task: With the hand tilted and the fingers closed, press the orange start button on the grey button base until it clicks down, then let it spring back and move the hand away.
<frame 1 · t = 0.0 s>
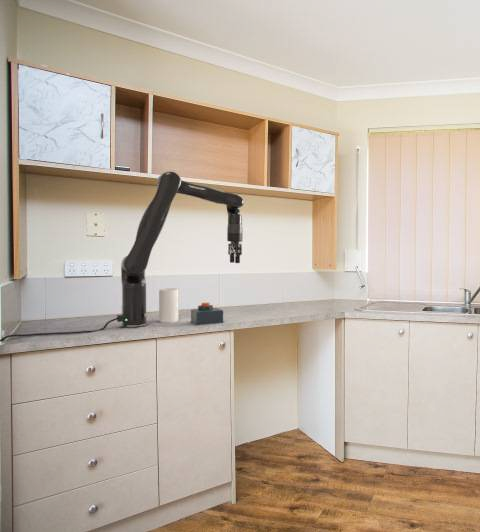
hand: (234, 262, 210), 29 cm above the countertop, tool pointing down, fingers open, 8 cm apart
cup: (168, 321, 195), on the countertop
grey button base: (207, 322, 194), on the countertop
start button: (205, 304, 195), point 8 cm above the countertop, slide at 0.1 cm
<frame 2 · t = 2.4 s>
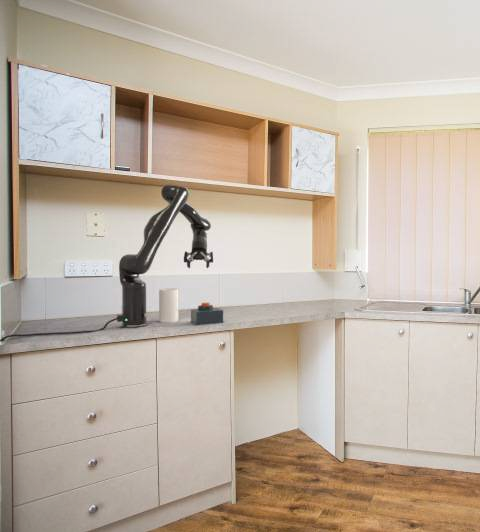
hand: (198, 267, 209), 27 cm above the countertop, tool tilted 45°, fingers open, 8 cm apart
nothing on the countertop moved.
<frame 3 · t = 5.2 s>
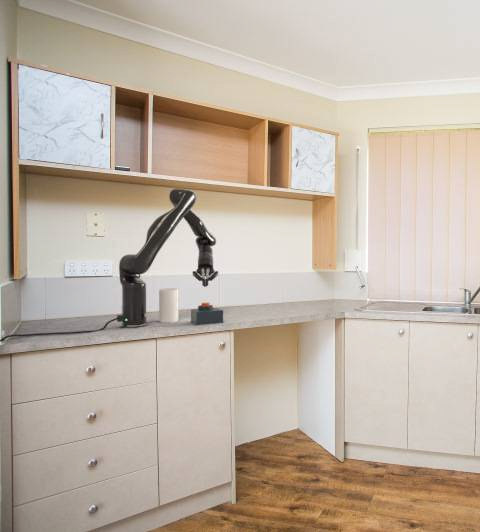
hand: (205, 285, 205), 17 cm above the countertop, tool tilted 45°, fingers closed
nothing on the countertop moved.
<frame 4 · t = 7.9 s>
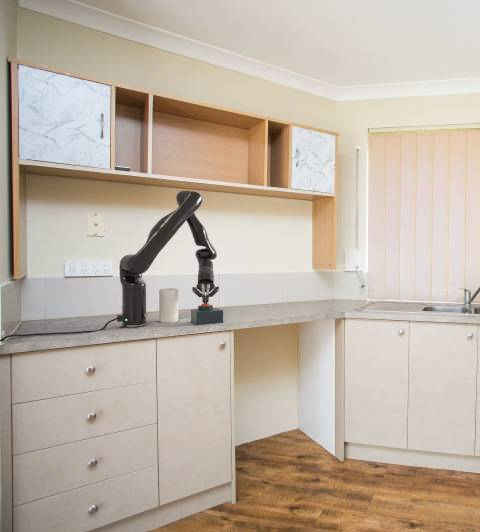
hand: (205, 302, 195), 10 cm above the countertop, tool tilted 45°, fingers closed
start button: (205, 305, 195), point 8 cm above the countertop, slide at -0.2 cm, touching gripper
everything else where it was.
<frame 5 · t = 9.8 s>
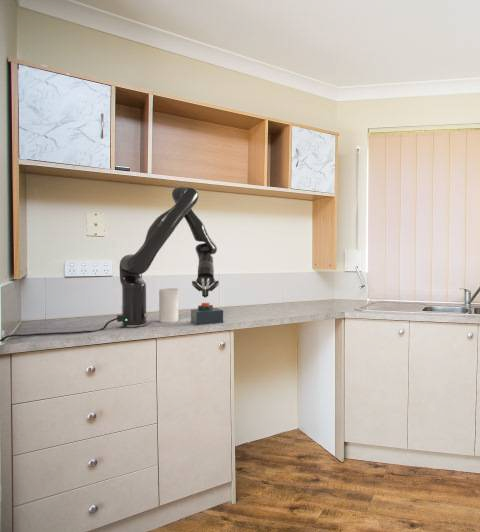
hand: (205, 296, 195), 13 cm above the countertop, tool tilted 45°, fingers closed
start button: (205, 304, 195), point 8 cm above the countertop, slide at 0.1 cm
everything else where it was.
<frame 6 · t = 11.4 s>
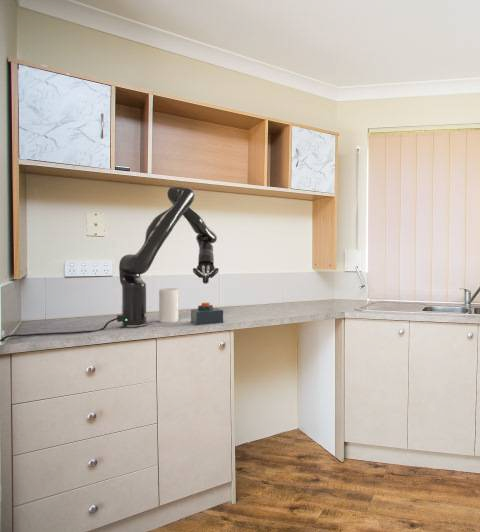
hand: (205, 282, 204), 19 cm above the countertop, tool tilted 45°, fingers closed
nothing on the countertop moved.
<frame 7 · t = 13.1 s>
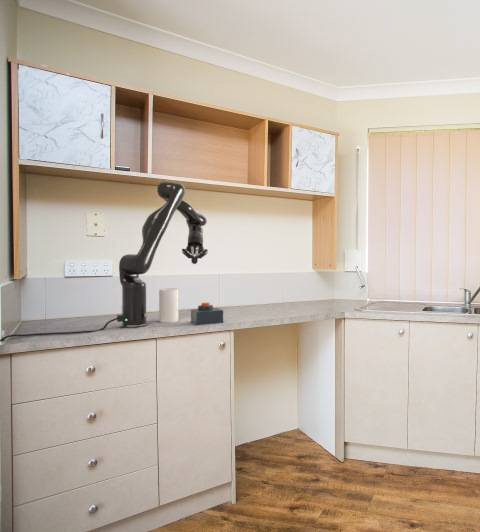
hand: (194, 262, 207), 29 cm above the countertop, tool tilted 45°, fingers closed
nothing on the countertop moved.
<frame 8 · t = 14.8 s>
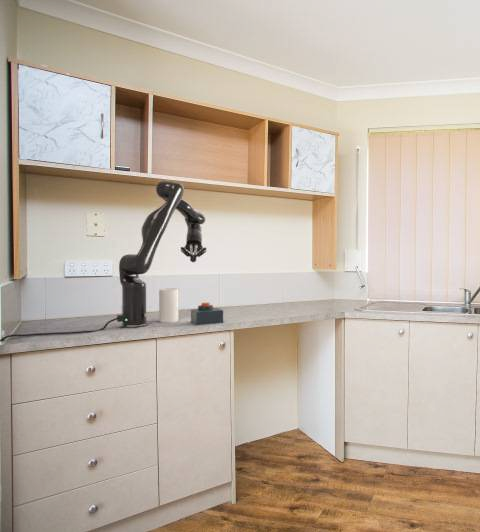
hand: (193, 261, 207), 30 cm above the countertop, tool tilted 45°, fingers closed
nothing on the countertop moved.
at the end: start button pushed in 1.3 cm at the most during the clip and back out by the end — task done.
